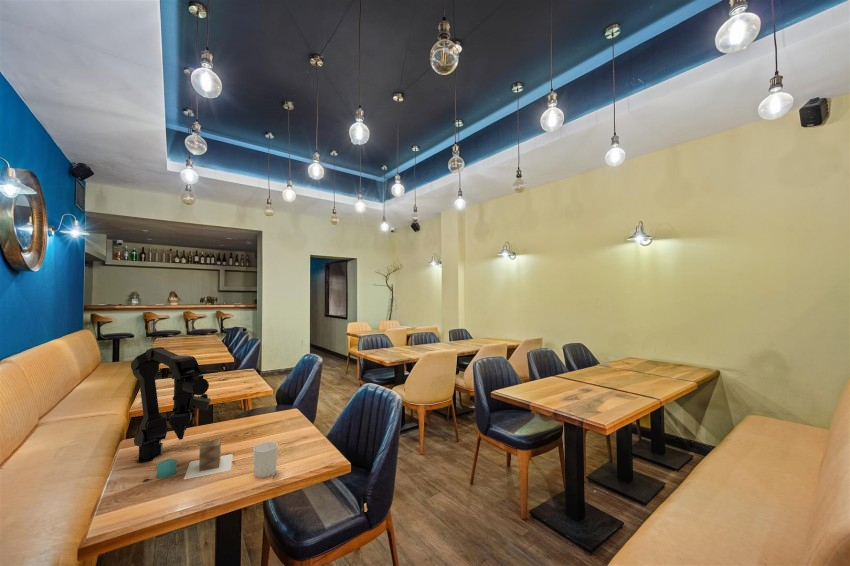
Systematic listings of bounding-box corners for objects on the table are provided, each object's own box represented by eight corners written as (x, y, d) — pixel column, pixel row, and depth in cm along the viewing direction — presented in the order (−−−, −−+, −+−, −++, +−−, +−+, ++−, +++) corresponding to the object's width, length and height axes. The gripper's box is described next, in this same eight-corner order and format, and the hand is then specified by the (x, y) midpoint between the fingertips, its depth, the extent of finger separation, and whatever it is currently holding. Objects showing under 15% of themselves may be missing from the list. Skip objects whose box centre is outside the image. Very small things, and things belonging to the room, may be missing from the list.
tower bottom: (199, 471, 123) (199, 459, 123) (201, 463, 128) (201, 452, 128) (218, 467, 125) (219, 456, 126) (220, 460, 131) (220, 449, 131)
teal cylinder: (154, 482, 117) (155, 467, 117) (158, 475, 122) (159, 460, 122) (174, 479, 120) (174, 464, 120) (177, 471, 125) (177, 457, 125)
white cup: (270, 467, 128) (271, 439, 128) (281, 474, 123) (281, 445, 123) (248, 475, 122) (249, 447, 122) (259, 483, 117) (259, 453, 117)
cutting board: (183, 482, 117) (183, 479, 117) (190, 464, 130) (190, 461, 130) (230, 472, 124) (230, 470, 124) (232, 456, 136) (233, 453, 136)
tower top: (199, 459, 123) (199, 448, 123) (201, 452, 128) (202, 442, 128) (219, 456, 126) (219, 445, 126) (220, 449, 131) (220, 439, 131)
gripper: (207, 395, 123) (206, 439, 122) (210, 383, 139) (210, 422, 139) (168, 399, 117) (167, 446, 117) (176, 386, 134) (176, 427, 133)
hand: (182, 434), depth 126 cm, fingers open, 9 cm apart
